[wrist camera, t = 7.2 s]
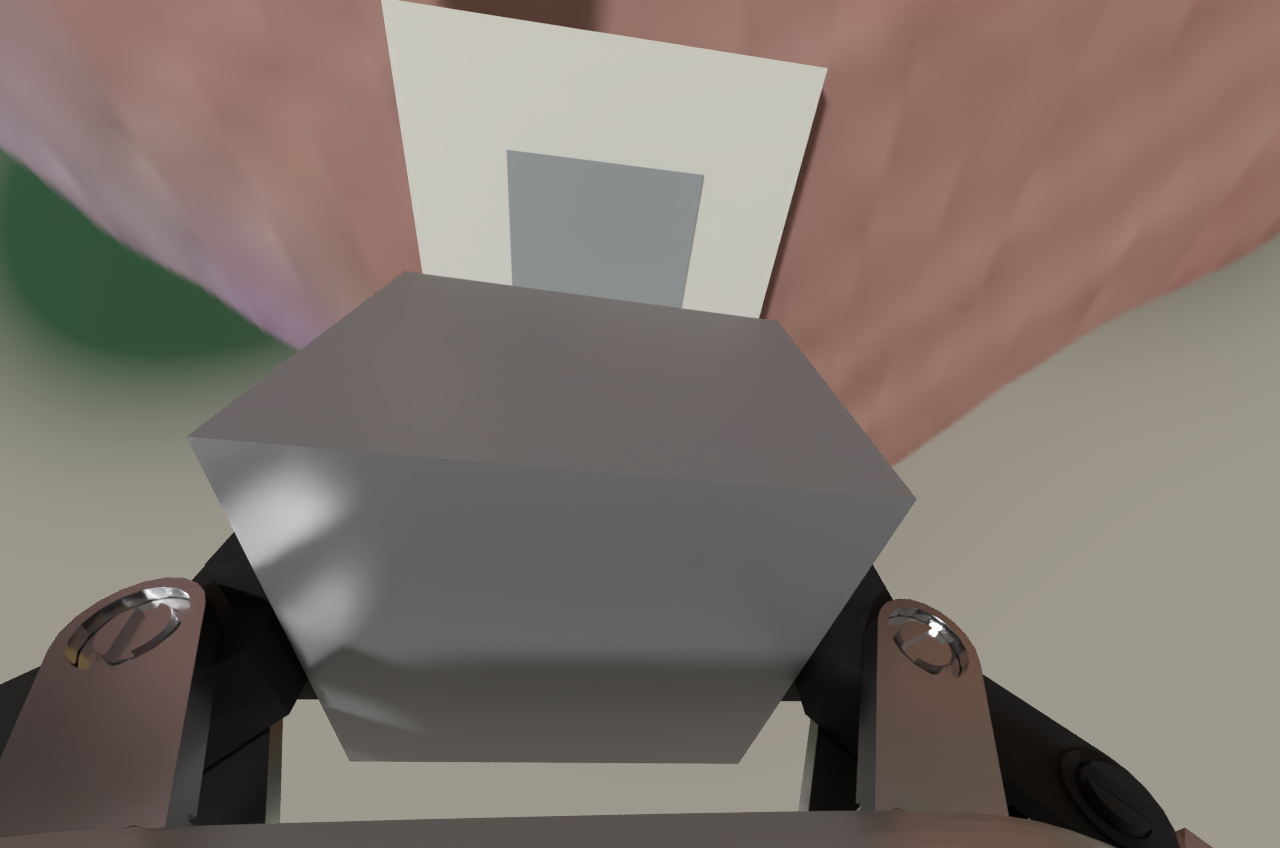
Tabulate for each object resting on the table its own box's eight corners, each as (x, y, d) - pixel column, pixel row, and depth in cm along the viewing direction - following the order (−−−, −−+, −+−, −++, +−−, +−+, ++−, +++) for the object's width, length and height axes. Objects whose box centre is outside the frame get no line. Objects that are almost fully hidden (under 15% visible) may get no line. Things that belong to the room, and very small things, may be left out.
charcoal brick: (777, 321, 9) (915, 499, 5) (698, 554, 13) (738, 763, 9) (405, 271, 8) (185, 436, 4) (440, 537, 12) (349, 761, 8)
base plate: (817, 70, 20) (828, 68, 19) (727, 409, 30) (731, 420, 29) (393, 3, 18) (379, -3, 17) (447, 388, 28) (441, 399, 27)
